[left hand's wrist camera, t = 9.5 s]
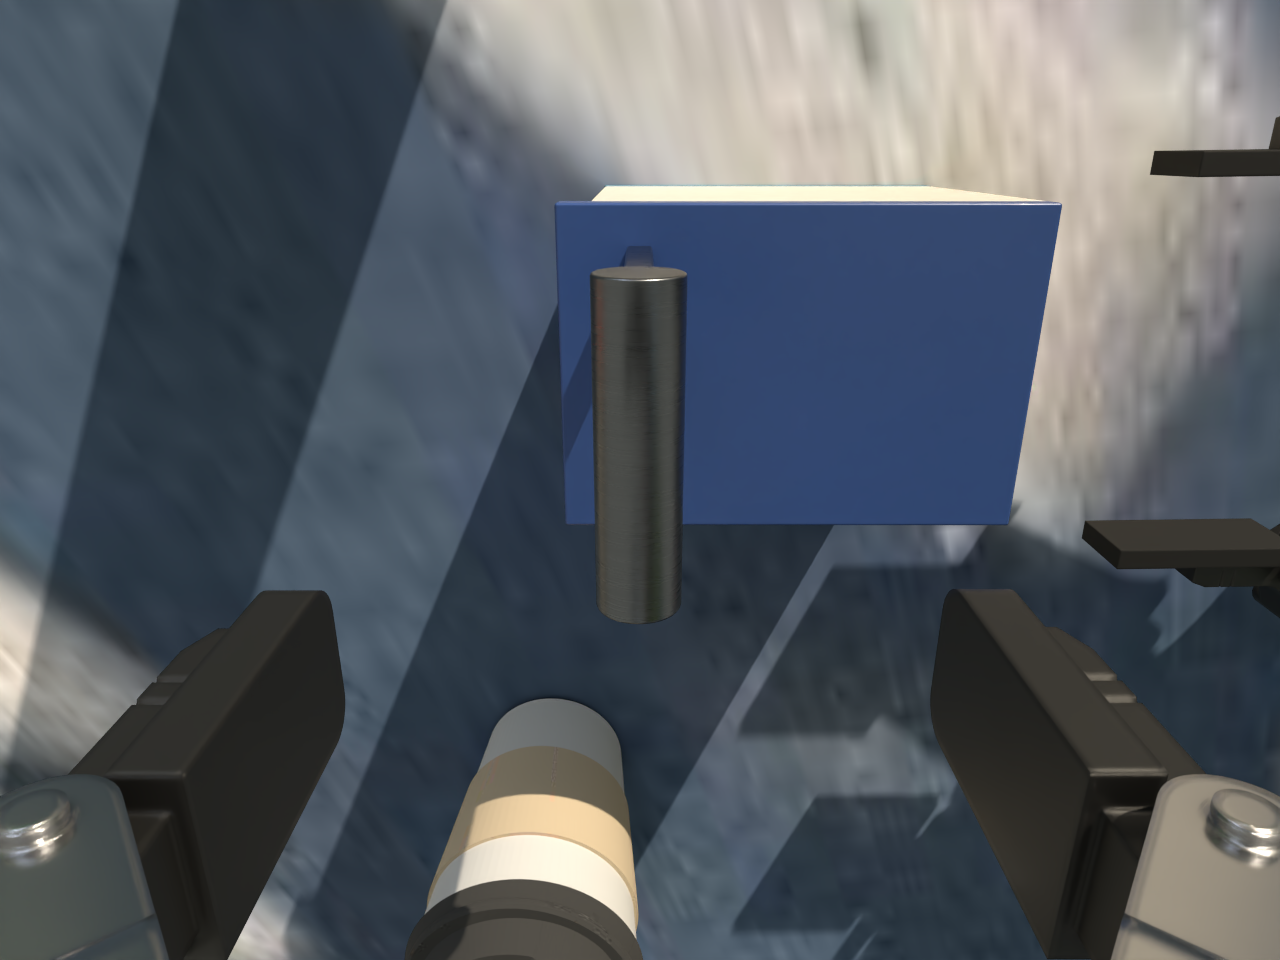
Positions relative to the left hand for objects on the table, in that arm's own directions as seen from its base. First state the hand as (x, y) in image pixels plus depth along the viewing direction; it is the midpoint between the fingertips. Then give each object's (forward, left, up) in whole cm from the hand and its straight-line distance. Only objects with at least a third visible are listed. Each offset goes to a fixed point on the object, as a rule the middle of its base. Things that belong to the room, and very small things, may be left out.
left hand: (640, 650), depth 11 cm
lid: (-3, +3, -16) cm, 16 cm away
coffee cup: (+19, +14, -27) cm, 35 cm away
